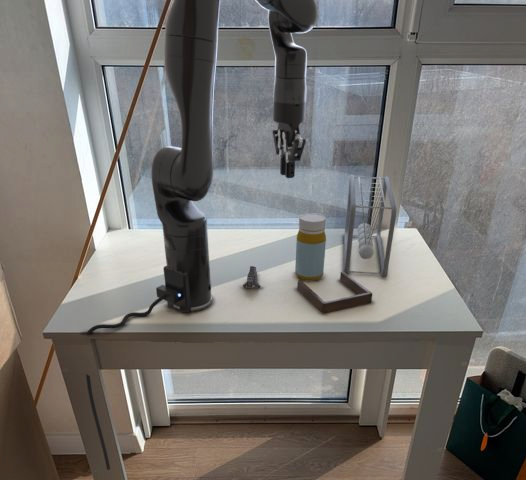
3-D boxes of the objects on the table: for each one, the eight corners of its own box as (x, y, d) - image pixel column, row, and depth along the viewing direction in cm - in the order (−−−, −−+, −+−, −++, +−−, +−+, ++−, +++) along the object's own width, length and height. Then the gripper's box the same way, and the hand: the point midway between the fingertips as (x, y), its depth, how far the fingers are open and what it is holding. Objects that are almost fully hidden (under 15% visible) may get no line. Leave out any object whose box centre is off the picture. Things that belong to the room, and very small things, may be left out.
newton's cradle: (386, 280, 125) (397, 209, 115) (343, 277, 127) (351, 207, 117) (379, 235, 150) (388, 174, 140) (344, 233, 151) (350, 172, 141)
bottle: (327, 273, 128) (332, 215, 120) (314, 284, 123) (318, 224, 115) (303, 267, 131) (306, 210, 123) (290, 277, 126) (292, 218, 118)
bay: (296, 289, 121) (297, 280, 119) (342, 280, 125) (343, 271, 124) (322, 313, 111) (323, 303, 110) (371, 303, 115) (372, 293, 114)
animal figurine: (246, 279, 128) (246, 259, 126) (263, 280, 128) (264, 260, 125) (239, 293, 117) (239, 272, 115) (258, 294, 117) (258, 273, 115)
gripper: (262, 96, 121) (262, 170, 130) (288, 104, 110) (285, 185, 120) (290, 94, 123) (288, 168, 133) (318, 102, 113) (313, 181, 122)
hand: (287, 175), depth 126 cm, fingers closed
